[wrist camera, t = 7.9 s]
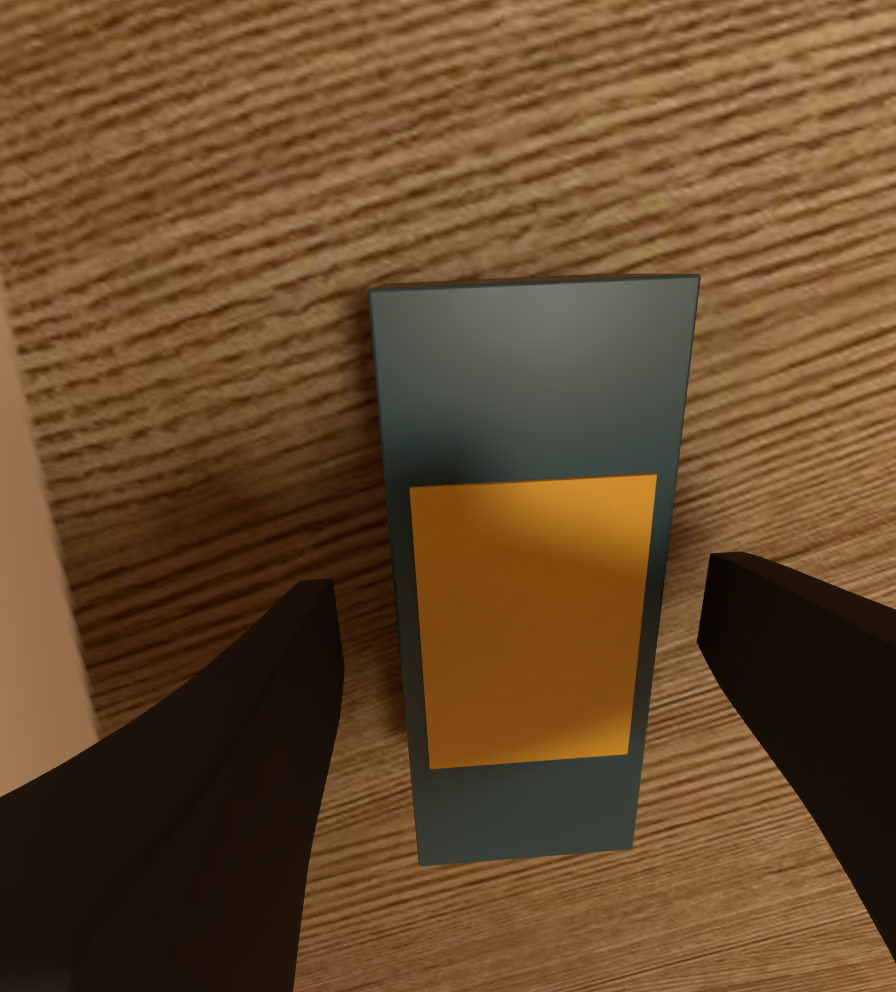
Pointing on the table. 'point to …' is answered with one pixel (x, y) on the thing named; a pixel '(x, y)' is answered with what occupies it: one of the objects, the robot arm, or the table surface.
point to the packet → (529, 546)
